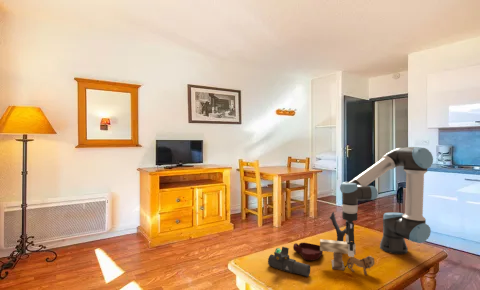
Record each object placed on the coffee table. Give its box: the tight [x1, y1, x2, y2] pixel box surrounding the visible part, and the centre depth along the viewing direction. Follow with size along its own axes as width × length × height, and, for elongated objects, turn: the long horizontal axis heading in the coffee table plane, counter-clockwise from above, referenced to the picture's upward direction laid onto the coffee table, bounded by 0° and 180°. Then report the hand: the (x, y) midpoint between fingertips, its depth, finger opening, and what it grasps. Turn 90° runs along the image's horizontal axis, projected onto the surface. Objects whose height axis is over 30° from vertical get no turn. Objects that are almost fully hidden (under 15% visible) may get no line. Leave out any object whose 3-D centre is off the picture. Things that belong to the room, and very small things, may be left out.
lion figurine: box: [344, 255, 375, 276], centre depth 140 cm, size 15×5×9 cm, turn 63°
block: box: [319, 238, 357, 256], centre depth 146 cm, size 18×4×5 cm, turn 73°
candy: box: [274, 247, 282, 253], centre depth 158 cm, size 12×3×4 cm
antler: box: [329, 211, 346, 241], centre depth 166 cm, size 12×8×25 cm
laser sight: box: [267, 246, 311, 278], centre depth 141 cm, size 10×22×10 cm, turn 55°
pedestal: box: [331, 252, 345, 271], centre depth 146 cm, size 6×9×8 cm, turn 163°
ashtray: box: [292, 242, 324, 262], centre depth 160 cm, size 18×16×5 cm
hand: (349, 251), depth 145 cm, fingers open, 13 cm apart
